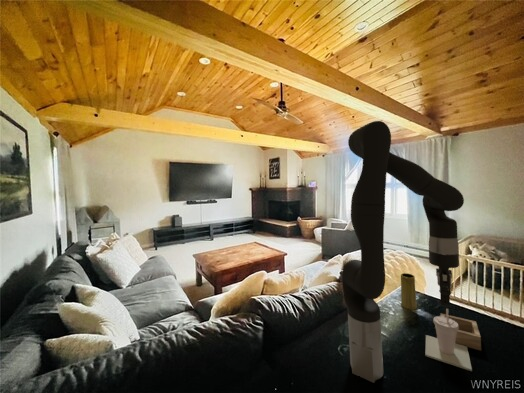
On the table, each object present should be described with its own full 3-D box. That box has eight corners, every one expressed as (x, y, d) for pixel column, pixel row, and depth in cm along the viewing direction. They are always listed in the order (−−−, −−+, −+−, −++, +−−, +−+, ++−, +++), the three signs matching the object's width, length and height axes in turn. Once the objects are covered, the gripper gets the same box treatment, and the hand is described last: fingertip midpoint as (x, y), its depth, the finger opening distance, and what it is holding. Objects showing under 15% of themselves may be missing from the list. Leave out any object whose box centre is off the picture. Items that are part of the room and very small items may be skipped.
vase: (416, 304, 101) (415, 273, 100) (417, 311, 96) (416, 279, 95) (401, 301, 104) (399, 272, 103) (401, 308, 99) (399, 276, 98)
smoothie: (464, 358, 68) (463, 315, 68) (441, 356, 70) (440, 313, 69) (451, 344, 75) (450, 304, 74) (429, 342, 76) (428, 303, 76)
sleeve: (481, 350, 72) (480, 337, 72) (441, 339, 78) (441, 327, 78) (476, 333, 80) (475, 321, 80) (440, 324, 86) (440, 313, 86)
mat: (471, 371, 65) (471, 369, 65) (425, 356, 71) (425, 354, 71) (467, 348, 73) (467, 346, 73) (426, 336, 80) (425, 334, 80)
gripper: (429, 243, 79) (430, 288, 79) (428, 254, 68) (429, 305, 68) (456, 246, 74) (457, 293, 75) (461, 257, 63) (462, 313, 64)
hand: (444, 299), depth 72 cm, fingers open, 8 cm apart
